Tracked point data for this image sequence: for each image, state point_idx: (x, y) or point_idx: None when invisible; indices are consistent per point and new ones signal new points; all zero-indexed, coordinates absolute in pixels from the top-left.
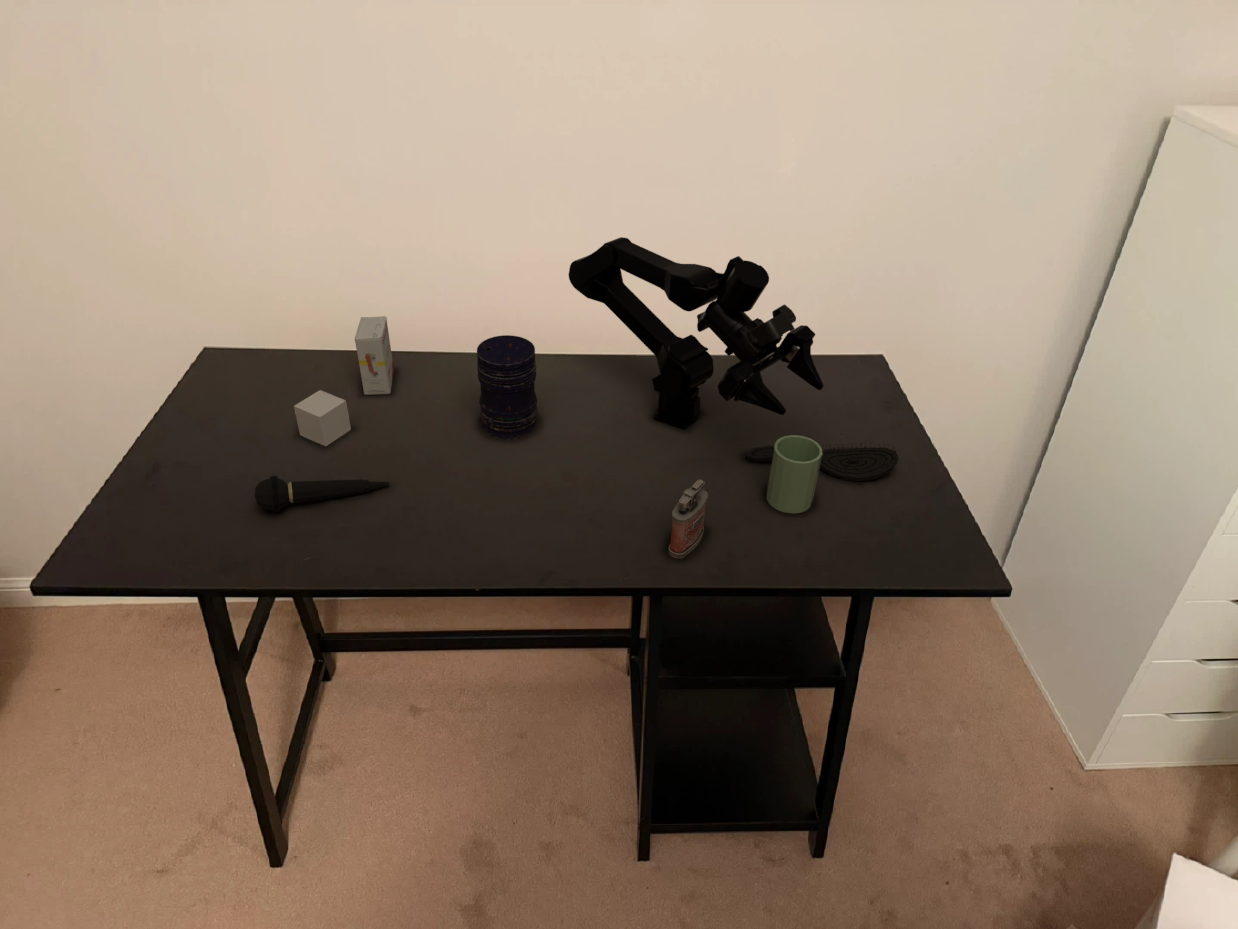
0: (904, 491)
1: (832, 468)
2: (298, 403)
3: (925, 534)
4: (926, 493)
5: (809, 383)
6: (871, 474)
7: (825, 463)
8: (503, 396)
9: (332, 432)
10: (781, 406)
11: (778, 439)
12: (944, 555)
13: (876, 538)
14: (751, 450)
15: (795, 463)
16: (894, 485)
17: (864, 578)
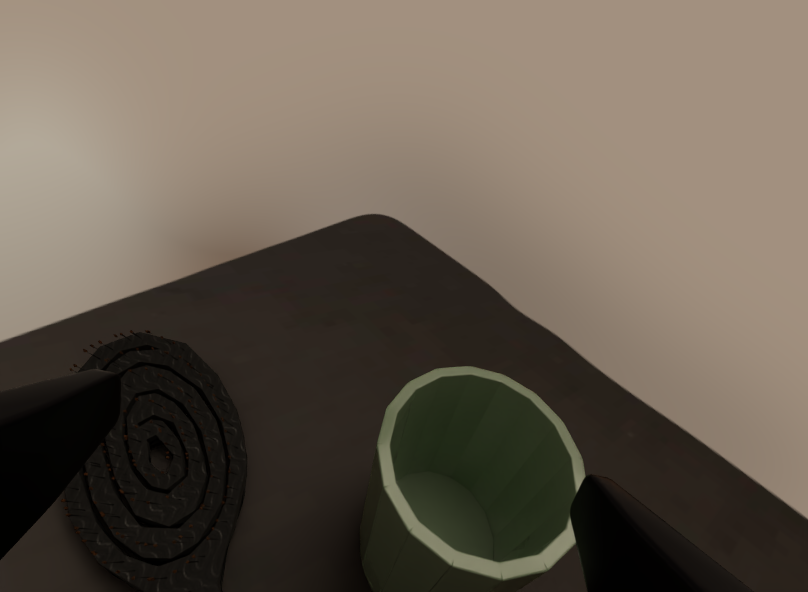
0: (223, 331)
1: (222, 491)
2: None
3: (339, 278)
4: (209, 301)
5: (11, 542)
6: (214, 384)
7: (210, 520)
8: None
9: None
10: (635, 507)
11: (501, 577)
12: (370, 252)
13: (406, 327)
14: None
15: (557, 419)
16: (208, 351)
17: (507, 312)
